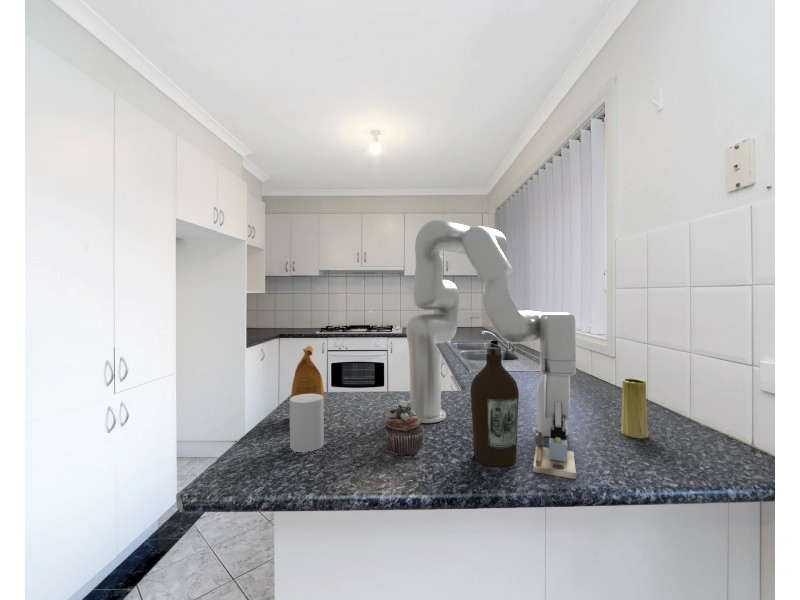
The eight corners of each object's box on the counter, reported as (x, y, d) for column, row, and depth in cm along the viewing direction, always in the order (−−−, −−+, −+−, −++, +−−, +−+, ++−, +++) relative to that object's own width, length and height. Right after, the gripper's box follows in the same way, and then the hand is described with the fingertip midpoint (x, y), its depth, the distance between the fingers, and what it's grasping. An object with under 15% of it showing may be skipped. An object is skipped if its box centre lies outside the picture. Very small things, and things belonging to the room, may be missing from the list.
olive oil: (463, 450, 86) (462, 346, 86) (504, 446, 89) (503, 344, 89) (483, 471, 76) (482, 352, 76) (528, 465, 78) (528, 350, 78)
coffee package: (325, 412, 116) (325, 344, 116) (323, 426, 104) (323, 349, 104) (293, 414, 114) (293, 345, 114) (288, 428, 102) (287, 350, 102)
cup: (329, 442, 92) (329, 395, 92) (312, 455, 85) (311, 403, 84) (302, 438, 95) (302, 392, 95) (283, 450, 87) (282, 400, 87)
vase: (645, 432, 97) (645, 379, 97) (650, 440, 92) (650, 384, 91) (619, 429, 100) (619, 377, 100) (622, 436, 94) (622, 382, 94)
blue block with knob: (549, 459, 78) (548, 439, 78) (549, 453, 81) (549, 434, 81) (567, 461, 76) (567, 441, 76) (567, 456, 79) (566, 436, 79)
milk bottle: (571, 439, 92) (570, 361, 92) (539, 437, 94) (539, 360, 94) (564, 428, 100) (563, 356, 100) (534, 427, 102) (534, 356, 102)
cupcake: (417, 459, 82) (417, 415, 82) (378, 453, 85) (378, 411, 85) (429, 443, 91) (429, 403, 91) (393, 438, 94) (393, 400, 94)
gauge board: (533, 471, 75) (533, 447, 75) (535, 451, 86) (535, 430, 86) (575, 478, 72) (575, 454, 72) (573, 456, 82) (573, 434, 82)
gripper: (540, 360, 91) (541, 433, 91) (538, 371, 77) (539, 457, 77) (573, 362, 88) (574, 437, 88) (577, 373, 74) (578, 463, 74)
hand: (558, 446), depth 82 cm, fingers closed
